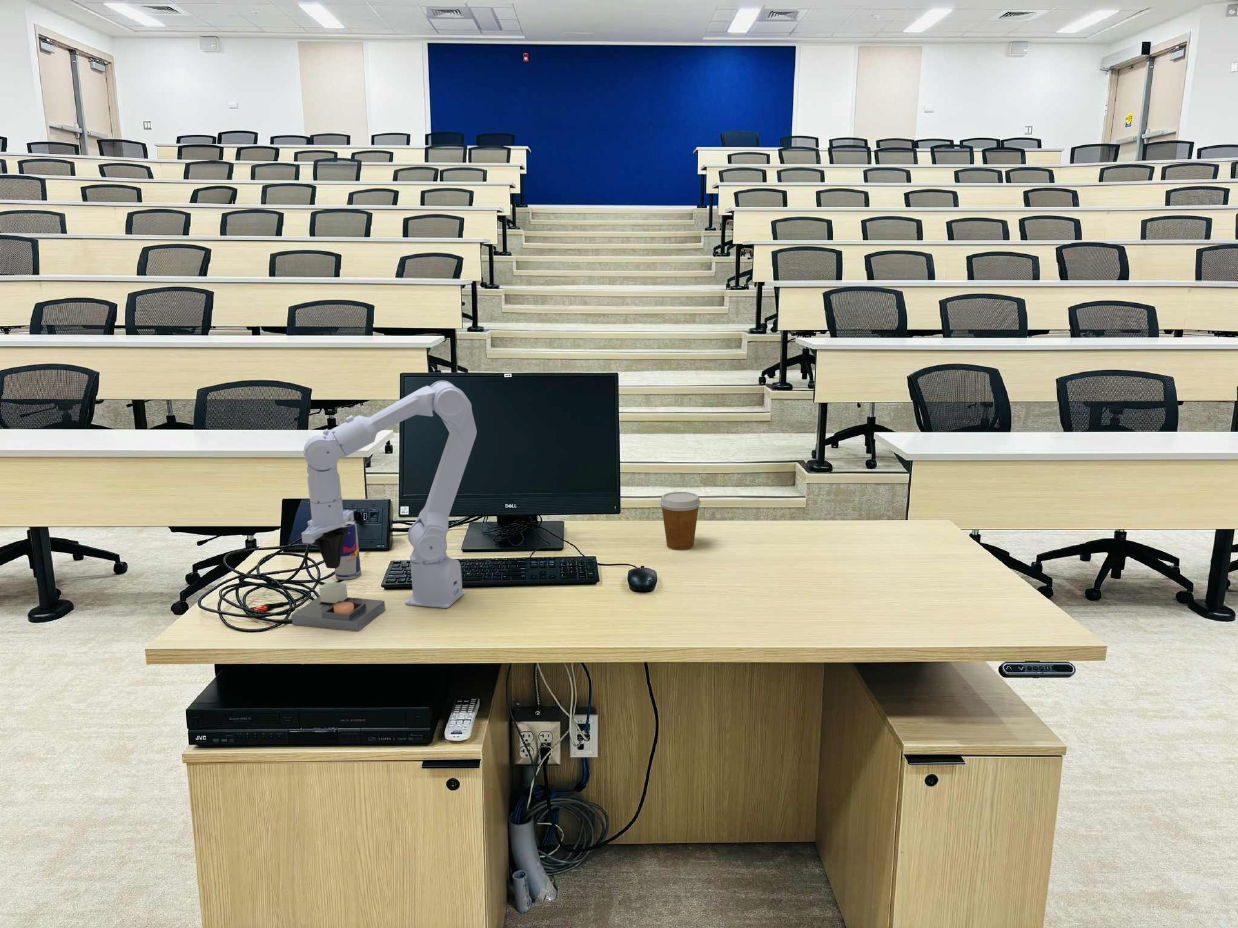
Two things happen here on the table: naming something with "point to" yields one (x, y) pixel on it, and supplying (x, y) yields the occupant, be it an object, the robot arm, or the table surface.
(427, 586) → the robot arm
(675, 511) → the disposable coffee cup
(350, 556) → the energy drink
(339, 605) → the button
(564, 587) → the table surface
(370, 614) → the panel
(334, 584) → the on key
